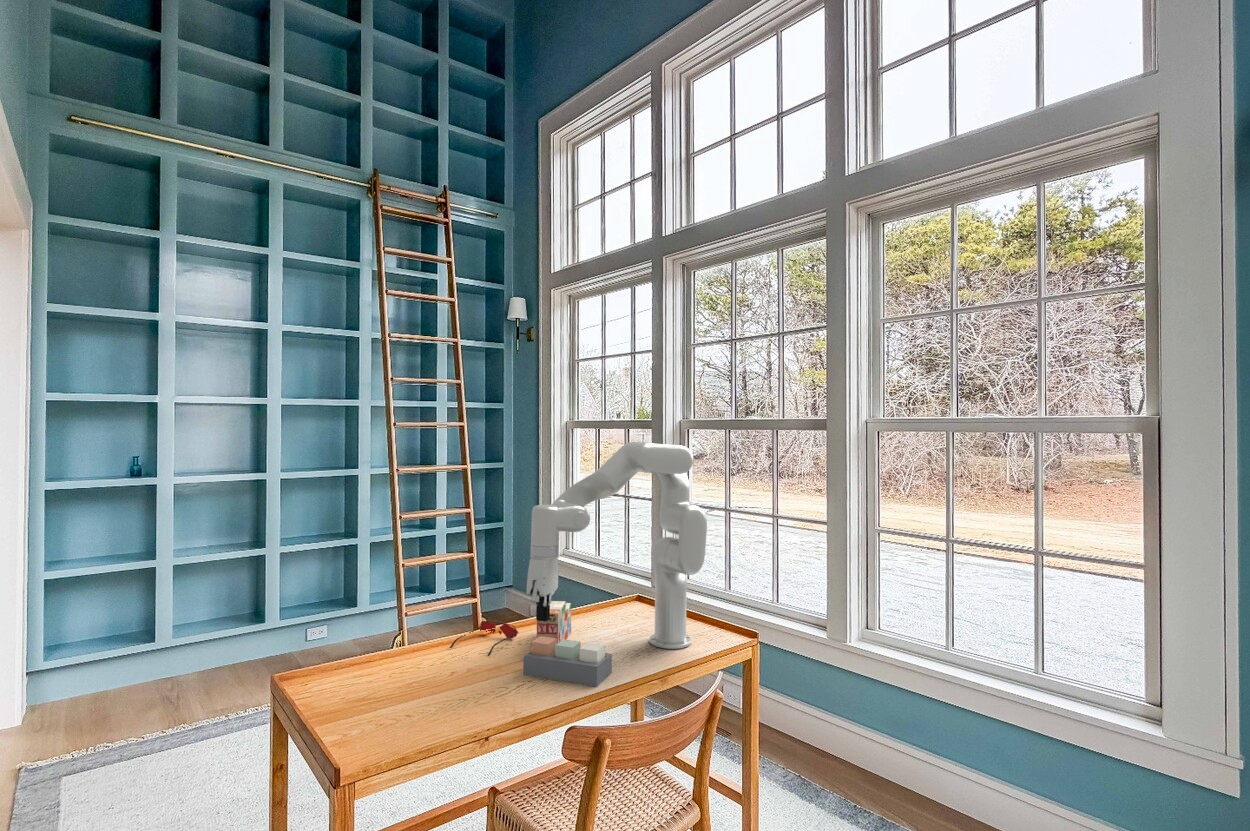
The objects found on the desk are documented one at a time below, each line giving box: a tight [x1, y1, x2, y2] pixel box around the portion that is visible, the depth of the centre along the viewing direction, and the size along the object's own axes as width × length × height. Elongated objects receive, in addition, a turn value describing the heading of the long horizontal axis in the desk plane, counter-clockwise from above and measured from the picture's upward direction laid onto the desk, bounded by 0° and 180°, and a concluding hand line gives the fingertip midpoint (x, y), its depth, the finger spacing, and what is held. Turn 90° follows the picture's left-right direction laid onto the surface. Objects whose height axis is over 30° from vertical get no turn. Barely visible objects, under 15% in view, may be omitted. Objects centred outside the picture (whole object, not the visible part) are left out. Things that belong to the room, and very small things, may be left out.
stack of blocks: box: [536, 600, 572, 644], centre depth 200 cm, size 21×6×12 cm, turn 174°
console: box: [522, 649, 613, 688], centre depth 175 cm, size 10×21×5 cm, turn 69°
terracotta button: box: [531, 636, 557, 656], centre depth 178 cm, size 5×5×5 cm
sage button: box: [555, 639, 582, 660], centre depth 175 cm, size 5×5×5 cm
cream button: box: [580, 642, 606, 663], centre depth 173 cm, size 5×5×5 cm
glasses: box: [449, 620, 519, 657], centre depth 198 cm, size 14×16×5 cm
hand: (542, 620), depth 177 cm, fingers closed
